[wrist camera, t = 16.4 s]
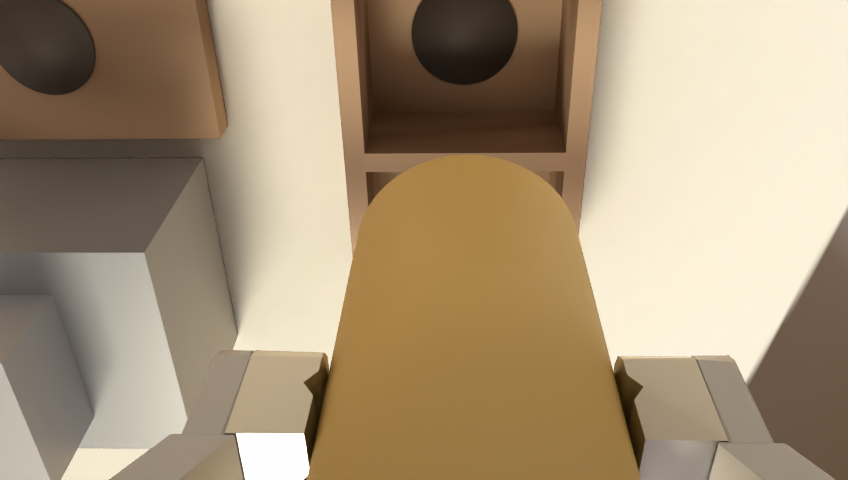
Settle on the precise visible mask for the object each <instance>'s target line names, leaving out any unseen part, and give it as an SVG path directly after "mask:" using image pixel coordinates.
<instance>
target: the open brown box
mask: <svg viewBox="0 0 848 480" xmlns="http://www.w3.org/2000/svg"><path fill="white" fill-rule="evenodd" d="M601 9H602V0H331V11H332V22H333V34H334V45H335V57H336V68H337V80H338V92H339V103H340V115H341V126H342V138H343V149H344V161H345V172H346V184H347V196H348V207H349V219H350V230H351V242H352V253H353V255H354V250H355V245H356V241H357V236H358V231H359V228H360V225H361V221H362V218H363V216H364V214H365V212H366V210H367V208H368V206H369V205H370V203H371V202H372V201H373V199H374V198H375V196H376V195H377V194H378V193H379V192H380V191H381V190H382V189H383V188H384V187H385V185H387V184H388V183H389V182H390V181H392V180H393V179H394V178H395V177H397V176H398V175H400V174H402V173H403V172H405V171H406V170H408V169H410V168H412V167H414V166H417V165H419V164H421V163H424V162H427V161H430V160H433V159H437V158H442V157H447V156H453V155H484V156H490V157H495V158H500V159H503V160H507V161H510V162H513V163H516V164H518V165H520V166H522V167H524V168H527V169H528V170H530V171H532V172H533V173H535V174H537V175H538V176H540V177H541V178H542V179H543V180H545V181H546V182H547V183H548V184H550V185H551V186H552V187H553V188H554V190H555V191H556V192H557V193H558V194H559V195H560V196H561V198H562V199H563V201H564V202H565V204H566V205H567V206H568V208H569V210H570V213H571V215H572V217H573V219H574V222H575V226H576V229H577V233H578V235H579V226H580V216H581V206H582V196H583V186H584V176H585V166H586V157H587V147H588V137H589V127H590V117H591V107H592V97H593V88H594V78H595V68H596V58H597V48H598V38H599V29H600V19H601Z"/></svg>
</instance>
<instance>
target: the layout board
mask: <svg viewBox="0 0 848 480" xmlns="http://www.w3.org/2000/svg"><path fill="white" fill-rule="evenodd" d="M227 126H228V125H227V119H226V113H225V107H224V102H223V96H222V90H221V84H220V78H219V73H218V67H217V61H216V55H215V49H214V44H213V38H212V32H211V26H210V21H209V15H208V9H207V3H206V0H0V140H53V139H220V138H221V136H222V135H223V133H224V131H225V130H226V128H227Z"/></svg>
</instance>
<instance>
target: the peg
mask: <svg viewBox="0 0 848 480" xmlns="http://www.w3.org/2000/svg"><path fill="white" fill-rule="evenodd" d="M307 480H641V478H640V474H639V470H638V467H637V463H636V459H635V455H634V451H633V447H632V443H631V439H630V435H629V431H628V428H627V424H626V420H625V416H624V412H623V408H622V404H621V400H620V396H619V392H618V389H617V385H616V381H615V377H614V373H613V369H612V365H611V361H610V357H609V354H608V350H607V346H606V342H605V338H604V334H603V330H602V326H601V322H600V318H599V315H598V311H597V307H596V303H595V299H594V295H593V291H592V287H591V283H590V279H589V276H588V272H587V268H586V264H585V260H584V256H583V252H582V248H581V244H580V241H579V237H578V233H577V229H576V226H575V222H574V219H573V217H572V215H571V213H570V210H569V208H568V206H567V205H566V204H565V202H564V201H563V199H562V198H561V196H560V195H559V194H558V193H557V192H556V191H555V190H554V188H553V187H552V186H551V185H550V184H548V183H547V182H546V181H545V180H543V179H542V178H541V177H540V176H538V175H537V174H535V173H533V172H532V171H530V170H528V169H527V168H524V167H522V166H520V165H518V164H516V163H513V162H510V161H507V160H503V159H500V158H495V157H490V156H484V155H453V156H447V157H442V158H437V159H433V160H430V161H427V162H424V163H421V164H419V165H417V166H414V167H412V168H410V169H408V170H406V171H405V172H403V173H402V174H400V175H398V176H397V177H395V178H394V179H393V180H392V181H390V182H389V183H388V184H387V185H385V187H384V188H383V189H382V190H381V191H380V192H379V193H378V194H377V195H376V196H375V198H374V199H373V201H372V202H371V203H370V205H369V206H368V208H367V210H366V212H365V214H364V216H363V218H362V221H361V225H360V228H359V231H358V236H357V241H356V245H355V250H354V255H353V260H352V265H351V270H350V274H349V279H348V284H347V289H346V294H345V298H344V303H343V308H342V313H341V318H340V322H339V327H338V332H337V337H336V342H335V346H334V351H333V356H332V361H331V366H330V370H329V375H328V380H327V385H326V390H325V394H324V399H323V404H322V409H321V414H320V418H319V423H318V428H317V433H316V438H315V442H314V447H313V452H312V457H311V462H310V466H309V471H308V476H307Z"/></svg>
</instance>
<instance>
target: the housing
mask: <svg viewBox="0 0 848 480" xmlns="http://www.w3.org/2000/svg"><path fill="white" fill-rule="evenodd" d="M237 336H238V334H237V329H236V324H235V319H234V314H233V309H232V304H231V299H230V294H229V289H228V283H227V278H226V273H225V268H224V263H223V258H222V253H221V248H220V243H219V238H218V232H217V227H216V222H215V217H214V212H213V207H212V202H211V197H210V192H209V186H208V181H207V176H206V171H205V166H204V161H203V158H47V159H0V480H61V478H62V476H63V474H64V473H65V471H66V469H67V467H68V465H69V463H70V461H71V460H72V458H73V456H74V454H75V452H76V450H77V449H78V448H112V449H151V448H153V447H154V446H155V445H157V444H158V443H159V442H161V441H162V440H163V439H165V438H166V437H167V436H169V435H170V434H182V431H183V429H184V426H185V424H186V422H187V419H188V417H189V414H190V412H191V409H192V407H193V405H194V402H195V400H196V397H197V395H198V393H199V390H200V388H201V385H202V383H203V380H204V378H205V376H206V373H207V371H208V368H209V366H210V363H211V361H212V359H213V357H214V355H215V354H216V353H218V352H219V351H220V350H233V347H234V345H235V342H236V339H237Z"/></svg>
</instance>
